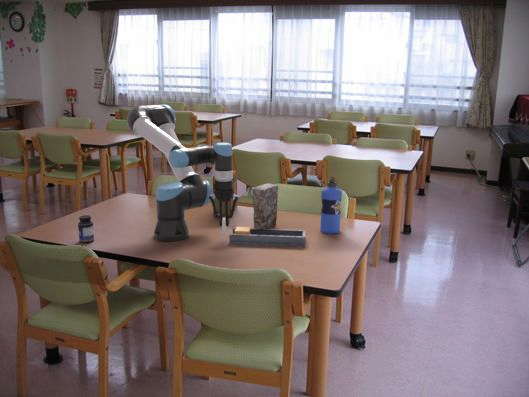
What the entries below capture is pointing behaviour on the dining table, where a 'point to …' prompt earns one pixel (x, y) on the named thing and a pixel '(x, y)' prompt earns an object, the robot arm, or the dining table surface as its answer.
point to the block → (242, 230)
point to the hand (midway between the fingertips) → (224, 233)
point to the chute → (270, 237)
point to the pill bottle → (85, 229)
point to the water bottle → (331, 208)
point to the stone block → (265, 205)
